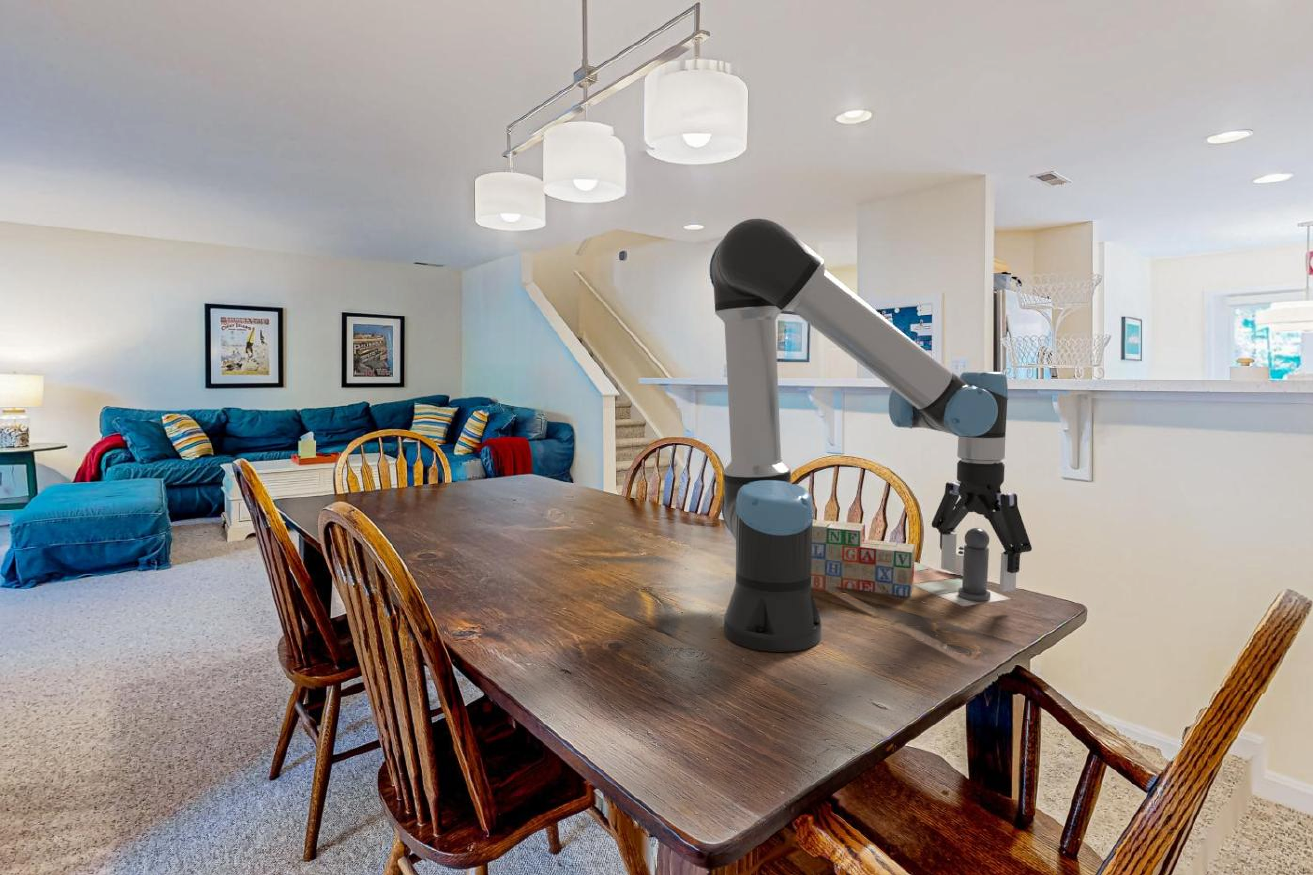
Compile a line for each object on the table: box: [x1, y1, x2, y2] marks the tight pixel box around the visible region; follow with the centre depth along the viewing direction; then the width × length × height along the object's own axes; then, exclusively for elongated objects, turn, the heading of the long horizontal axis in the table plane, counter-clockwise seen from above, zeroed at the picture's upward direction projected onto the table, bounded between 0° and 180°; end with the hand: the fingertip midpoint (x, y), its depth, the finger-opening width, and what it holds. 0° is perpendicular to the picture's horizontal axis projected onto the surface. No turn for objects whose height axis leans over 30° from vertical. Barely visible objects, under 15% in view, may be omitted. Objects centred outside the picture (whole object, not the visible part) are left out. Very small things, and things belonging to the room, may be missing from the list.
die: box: [945, 546, 964, 576], centre depth 140 cm, size 6×6×6 cm
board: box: [914, 561, 1012, 607], centre depth 134 cm, size 12×26×1 cm, turn 20°
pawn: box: [958, 527, 990, 602], centre depth 124 cm, size 5×5×12 cm
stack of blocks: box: [811, 519, 916, 598], centre depth 131 cm, size 21×6×12 cm, turn 64°
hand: (976, 578), depth 124 cm, fingers open, 13 cm apart
